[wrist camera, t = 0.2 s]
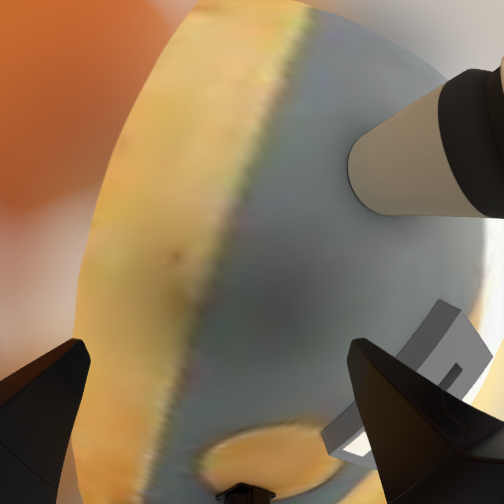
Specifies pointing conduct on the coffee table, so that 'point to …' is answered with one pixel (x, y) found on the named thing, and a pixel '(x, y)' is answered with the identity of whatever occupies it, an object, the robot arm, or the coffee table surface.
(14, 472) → the robot arm
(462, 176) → the travel mug
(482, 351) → the block
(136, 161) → the coffee table surface
